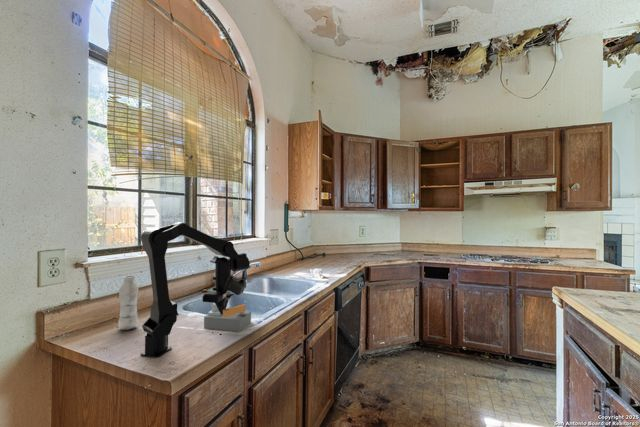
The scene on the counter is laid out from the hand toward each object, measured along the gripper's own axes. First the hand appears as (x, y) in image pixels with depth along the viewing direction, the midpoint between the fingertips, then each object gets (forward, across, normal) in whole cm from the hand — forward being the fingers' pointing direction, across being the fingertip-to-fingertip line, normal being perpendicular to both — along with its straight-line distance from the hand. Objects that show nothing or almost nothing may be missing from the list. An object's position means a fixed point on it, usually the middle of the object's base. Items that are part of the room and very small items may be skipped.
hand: (222, 314), depth 112 cm
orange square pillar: (+1, +2, -4) cm, 5 cm away
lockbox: (+6, +5, 0) cm, 8 cm away
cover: (+2, +5, +5) cm, 7 cm away
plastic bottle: (+6, -7, +36) cm, 37 cm away
